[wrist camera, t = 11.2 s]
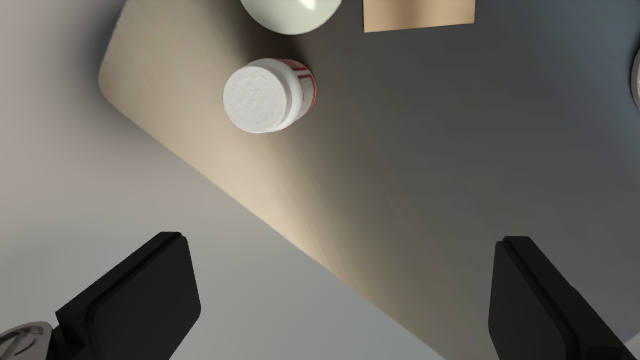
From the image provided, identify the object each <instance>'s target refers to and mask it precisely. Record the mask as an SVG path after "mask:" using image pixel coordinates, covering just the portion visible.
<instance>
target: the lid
mask: <svg viewBox="0 0 640 360" xmlns="http://www.w3.org/2000/svg"><path fill="white" fill-rule="evenodd" d="M240 1H241V2H242V4H243V6H244V8H245V9H246V10H247V12H248V13H249V14H250V15H251V16H252V17H253V19H254V20H256V21H257V22H258V23H259V24H261V25H262V26H264V27H266V28H267V29H270V30H272V31H275V32H278V33H282V34H288V35H297V34H303V33H307V32H310V31H312V30H314V29H316V28H318V27H320V26H321V25H323V24H324V23H325V22H326V21H328V20H329V19H330V18H331V16H332V15H333V14H334V13H335V12H336V10H337V9H338V7H339V6H340V4H341V2H342V0H240Z"/></svg>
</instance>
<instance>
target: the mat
mask: <svg viewBox="0 0 640 360" xmlns="http://www.w3.org/2000/svg"><path fill="white" fill-rule="evenodd" d="M474 11H475V0H364V32H375V31H387V30H398V29H409V28H421V27H432V26H443V25H455V24H466V23H474Z"/></svg>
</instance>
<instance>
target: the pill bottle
mask: <svg viewBox="0 0 640 360" xmlns="http://www.w3.org/2000/svg"><path fill="white" fill-rule="evenodd" d="M315 97H316V83H315V80H314V78H313V75H312V74H311V72H310V71H309V70H308V69H307V68H306V67H305V66H304V65H303V64H301V63H299V62H297V61H294V60H289V59H271V58H265V59H258V60H255V61H252V62H250V63H248V64H247V65H245V66H244V67H242V68H240V69H238V70H236V71H235V72H234V73H233V74H232V75H231V76H230V77H229V78H228V80H227V82H226V84H225V87H224V90H223V103H224V108H225V110H226V113H227V115H228V116H229V118H230V119H231V120H232V122H233V123H234V124H235V125H236V126H238V127H239V128H241V129H243V130H245V131H247V132H251V133H264V132H273V131H278V130H281V129H283V128H286V127H288V126H289V125H290V124H291V123H293V122H294V121H296V120H297V119H299V118H300V117H302V116H303V115H304V114H306V113H307V112H308V111H309V110H310V108H311V107H312V105H313V103H314V101H315Z"/></svg>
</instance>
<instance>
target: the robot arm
mask: <svg viewBox="0 0 640 360" xmlns="http://www.w3.org/2000/svg"><path fill="white" fill-rule="evenodd" d="M631 89H632V94H633V99H634V101H635V103H636V105H637V107H638V110H639V111H640V48H639V50H638V53H637V55H636V57H635V60H634V64H633V68H632V72H631ZM200 312H201V304H200V300H199V295H198V290H197V285H196V280H195V275H194V271H193V266H192V261H191V256H190V251H189V246H188V242H187V239H186V237H184V236H182V234H181V233H180V232H160V233H158V234H157V235H156V236H154V237H153V238H152V239H150V240H149V241H148V242H147V243H145V244H144V245H143V246H141V247H140V248H139V249H137V250H136V251H135V252H133V253H132V254H131V255H130V256H128V257H127V258H126V259H124V260H123V261H122V262H120V263H119V264H118V265H116V266H115V267H114V268H112V269H111V270H110V271H109V272H107V273H106V274H105V275H103V276H102V277H101V278H100V279H98V280H97V281H95V282H94V283H93V284H92V285H90V286H89V287H88V288H86V289H85V290H84V291H82V292H81V293H80V294H78V295H77V296H76V297H75V298H73V299H72V300H71V301H69V302H68V303H67V304H65V305H64V306H63V307H62V308H60V309H59V310H58V311H56V312H55V314H56V317H57V320H58V322H59V325H58V326H57V327H56V328H55V329H52V326H51V325H50V324H49V323H47V322H42V321H40V322H31V323H27V324H23V325H19V326H17V327H14V328H11V329H9V330H7V331H5V332H3V333H1V334H0V360H169V359H170V357H171V356H172V354H173V353H174V351H175V350H176V349H177V347H178V346H179V344H180V343H181V341H182V340H183V339H184V337H185V336H186V335H187V333H188V332H189V331H190V329H191V328H192V326H193V325H194V323H195V322H196V321H197V319H198V318H199V315H200ZM488 328H489V333H490V337H491V339H492V342H493V344H494V347H495V349H496V352H497V354H498V357H499V359H500V360H637V359H636V358H635V357H634V356H633V355H632V354H631V352H630V351H629V350H628V349H627V348H626V347H625V345H624V344H623V343H622V342H621V341H620V340H619V339H618V337H617V336H616V335H615V334H614V333H613V332H612V330H611V329H610V328H609V327H608V326H607V325H606V323H605V322H604V321H603V320H602V319H601V318H600V317H599V315H598V314H597V313H596V312H595V311H594V310H593V308H592V307H591V306H590V305H589V304H588V303H587V301H586V300H585V299H584V298H583V297H582V296H581V295H580V293H579V292H578V291H577V290H576V289H575V288H573V287H572V286H571V285H570V284H569V283H568V282H567V281H566V279H565V278H564V277H563V276H562V275H561V274H560V272H559V271H558V270H557V269H556V268H555V267H554V265H553V264H552V263H551V262H550V261H549V260H548V258H547V257H546V256H545V255H544V254H543V253H542V251H541V250H540V249H539V248H538V247H537V246H536V244H535V243H534V242H533V241H532V240H531V238H529V237H528V236H505V237H504V238H503V241H497V242H496V246H495V256H494V266H493V277H492V287H491V298H490V308H489V319H488Z"/></svg>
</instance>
